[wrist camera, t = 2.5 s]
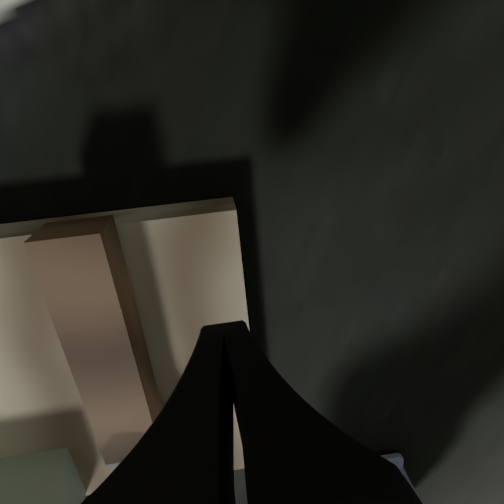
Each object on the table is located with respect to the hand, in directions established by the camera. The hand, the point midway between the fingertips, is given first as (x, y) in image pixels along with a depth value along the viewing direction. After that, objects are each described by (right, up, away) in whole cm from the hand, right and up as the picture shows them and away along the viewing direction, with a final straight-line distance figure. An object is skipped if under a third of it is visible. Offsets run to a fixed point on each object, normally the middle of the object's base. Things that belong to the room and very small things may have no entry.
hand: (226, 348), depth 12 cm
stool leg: (-5, -1, +5) cm, 7 cm away
